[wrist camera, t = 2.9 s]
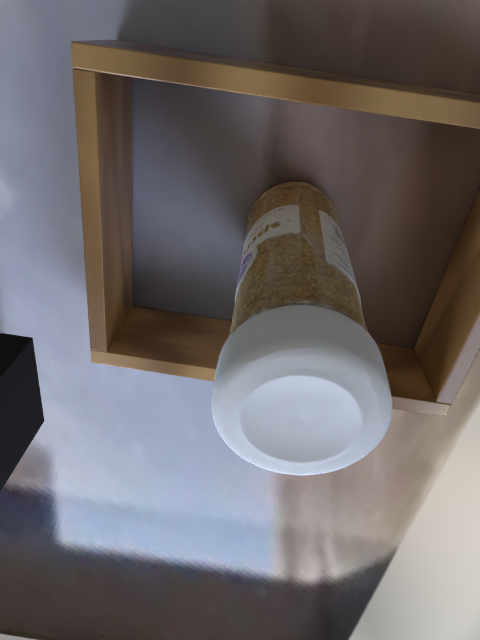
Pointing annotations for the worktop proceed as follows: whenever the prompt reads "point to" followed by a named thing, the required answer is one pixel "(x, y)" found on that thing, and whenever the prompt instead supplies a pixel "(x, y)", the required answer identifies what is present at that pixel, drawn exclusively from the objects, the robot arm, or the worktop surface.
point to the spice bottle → (299, 344)
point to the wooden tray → (211, 334)
